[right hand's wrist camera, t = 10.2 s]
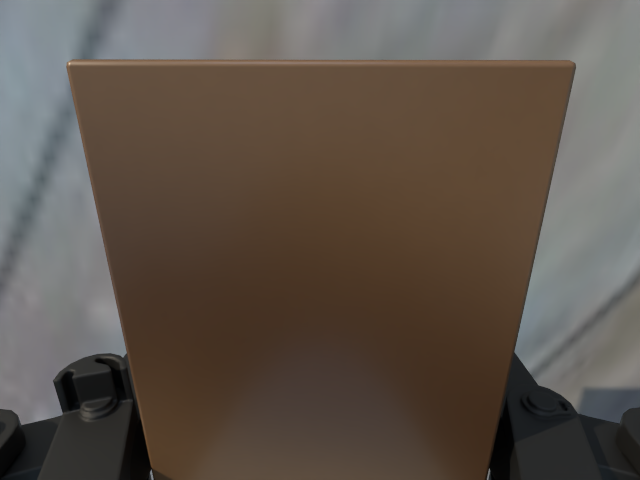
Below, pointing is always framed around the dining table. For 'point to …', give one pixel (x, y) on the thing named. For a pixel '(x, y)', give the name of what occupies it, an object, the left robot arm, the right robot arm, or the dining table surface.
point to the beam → (320, 255)
